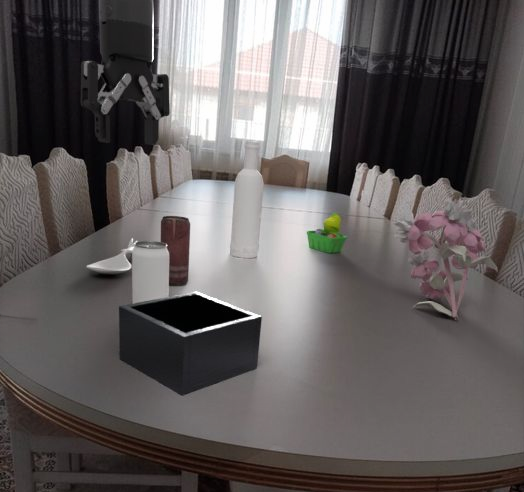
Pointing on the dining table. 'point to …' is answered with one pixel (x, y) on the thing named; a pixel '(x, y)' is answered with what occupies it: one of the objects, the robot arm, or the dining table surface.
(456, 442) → the dining table surface
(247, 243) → the bottle
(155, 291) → the can
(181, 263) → the can
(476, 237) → the flower
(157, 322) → the basin
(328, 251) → the green easter basket
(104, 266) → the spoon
